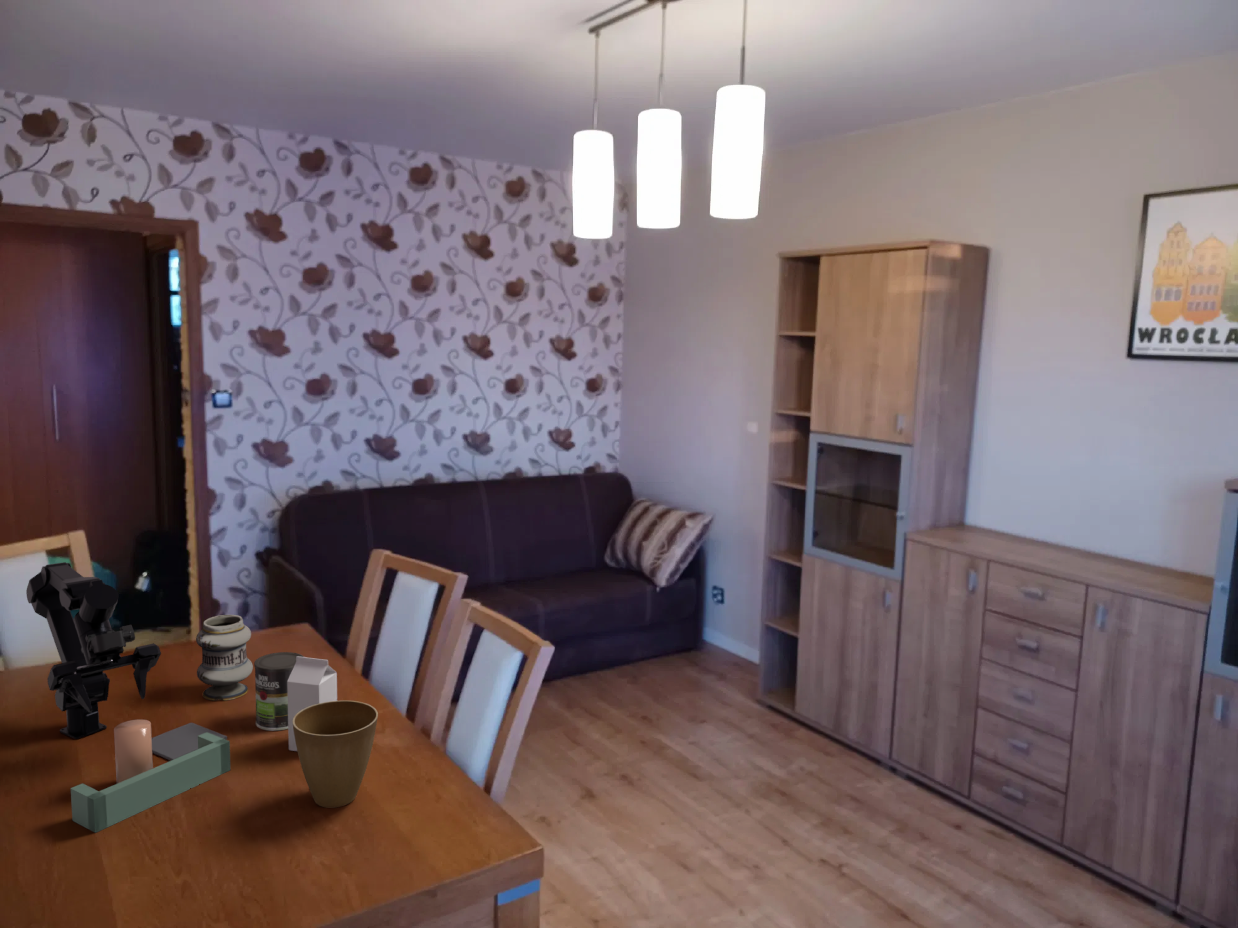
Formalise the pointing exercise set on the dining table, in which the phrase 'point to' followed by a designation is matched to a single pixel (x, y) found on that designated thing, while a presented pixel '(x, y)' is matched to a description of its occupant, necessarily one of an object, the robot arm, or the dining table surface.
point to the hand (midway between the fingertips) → (117, 704)
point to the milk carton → (309, 688)
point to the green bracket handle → (150, 785)
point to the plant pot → (335, 748)
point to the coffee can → (273, 689)
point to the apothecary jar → (224, 657)
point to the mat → (179, 741)
